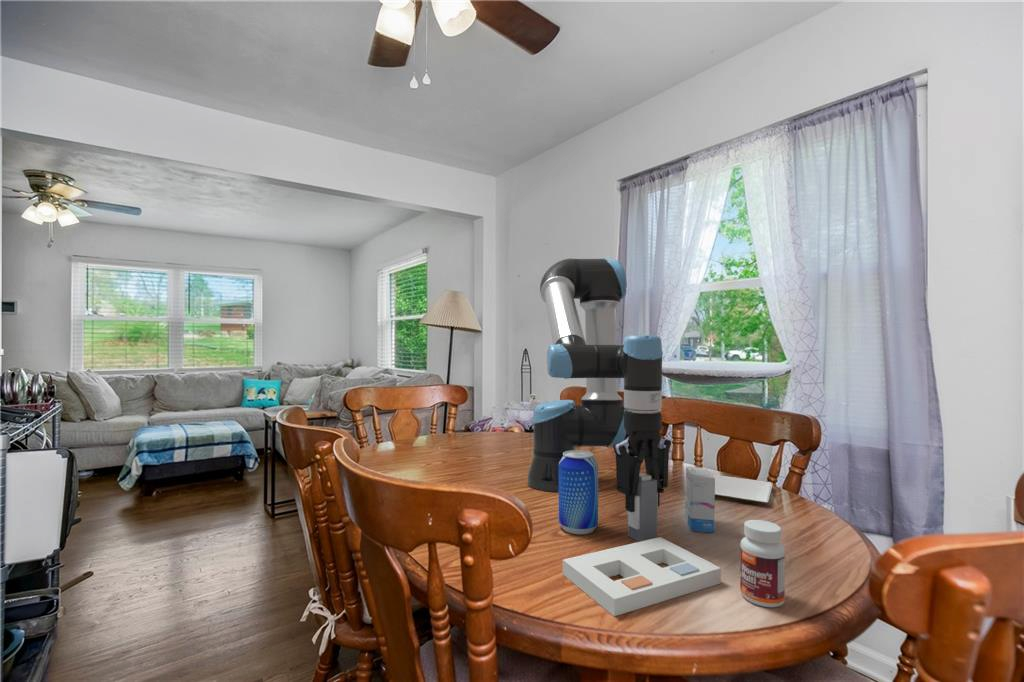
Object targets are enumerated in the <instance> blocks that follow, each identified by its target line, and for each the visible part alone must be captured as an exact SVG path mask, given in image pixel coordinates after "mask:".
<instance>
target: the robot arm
mask: <svg viewBox="0 0 1024 682" xmlns="http://www.w3.org/2000/svg"><path fill="white" fill-rule="evenodd" d="M626 276H627V275H626V271H625V268H624V266H623V264H622V262H620V261H619V260H617V259H608V258H605V257H603V258H565V259H562V260H560V261H557V262H556V263H554V264H553V265H551V266H550V267H549V268H548V269H547V270H546V271H545V273H544V274H543V276H542V278H541V281H540V285H539V291H540V297H541V299H542V301H543V302H544V303H545V304H546V309H547V310H546V311H547V317H548V321H549V322H548V323H549V329H550V332H551V333H550V334H551V339H552V343H553V344H551V345H549V346H548V347H547V351H546V366H547V367H546V368H547V370H546V371H547V374H548V375H549V377H551V378H557V379H558V378H559V379H565V380H566V379H567V380H568V379H585V382H586V384H585V385H586V387H585V388H586V390H585V391H586V392H585V394H584V395H583V396H582V397H581V400H580V401H581V403H580V404H578V405H577V404H576V402H575V401H574V400H573V399H557V400H551V401H545V402H541V403H539V404H537V405H536V406H535V407H534V409H533V419H532V424H533V457H532V460H531V463H530V466H529V469H528V473H527V475H526V476H527V477H526V478H527V479H526V481H527V482H526V483H527V486H529V487H530V488H533V489H536V490H539V491H543V492H544V491H545V492H559V462H560V460H561V459H562V457H563V453H564V452H566V451H571V450H575V448H577V447H582V448H583V447H587V448H588V447H593V448H595V447H605V448H610V447H612V448H613V451H614V453H615V469H616V470H615V471H616V472H615V475H616V477H615V478H616V491H618V492H619V493H621V494H624V495H625V497H624V498H625V499H624V500H625V507H624V508H625V510H626V511H627V525H628V527H629V526H631V527H633V528H635V529H640V496H638V495H636V493H637V487H638V480H639V474H640V473H641V466H642V463H643V462H644V466H645V474H648V475H651V478H652V479H655V480H657V526H658V523H659V522H658V521H659V519H658V517H659V516H658V515H659V514H658V509H659V507H660V503H661V501H660V496H661V495H660V494H663V493H664V492H665V489H667V488H668V486H669V462H670V461H669V460H670V458H669V457H670V454H669V453H670V450H671V449H670V448H671V446H672V441H671V440H670V439H668V438H667V439H666V438H664V437H663V438H662V436H661V433H660V432H661V430H662V429H663V414H662V413H661V411H660V410H662V409H663V406H662V405H663V394H662V393H663V389H662V388H663V357H664V355H663V354H664V353H663V346H662V339H661V337H660V336H658V335H654V334H653V335H651V334H650V335H647V334H646V335H642V334H641V335H639V334H638V335H637V334H636V335H634V334H633V335H626V337H624V341H623V344H617V342H616V341H617V339H616V336H617V335H616V309H617V308H618V307H620V304H621V300H623V299H624V298H625V297H626V295H627V288H628V287H627V286H628V285H627V277H626ZM575 299H578V300H579V306H580V307H581V308H582V309H583V310H584V315H585V317H584V318H585V319H584V321H585V322H584V324H585V325H584V326H585V328H584V329H585V336H584V332H583V329H582V324H581V321H580V317H579V314H578V310H577V306H576V302H575ZM617 379H623V387H624V388H623V398H622V396H621V395H619V394H618V391H617V390H618V387H617V386H618V385H617V383H618V382H617ZM630 488H631V489H630Z"/></svg>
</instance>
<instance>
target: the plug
mask: <svg viewBox="0 0 1024 682" xmlns="http://www.w3.org/2000/svg"><path fill="white" fill-rule="evenodd" d="M630 489H631V488H630ZM636 495H638V496H640V529H635V528H633V527H631V526H629V525H628V537H629V538H631V539H633V540H635V541H636V542H641V541H645V540H650V539H654V538H658V525H657V480H655V479H652V478H651V475H648V474H647V473H646V472H640V474H639V480H638V487H637V493H636Z"/></svg>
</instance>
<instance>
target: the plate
mask: <svg viewBox="0 0 1024 682" xmlns="http://www.w3.org/2000/svg"><path fill="white" fill-rule="evenodd" d="M711 474H712V473H711ZM712 475H713V476H714V478H715V498H716V499H723V500H727V501H728V500H729V501H736V502H741V503H747V504H753V505H760V504H762V505H763V504H765V505H767V504H768V503H769V499H770V496H771V492H772V490H773V484H774V483H773V482H771V481H763V480H757V479H750V478H741V477H736V476H735V477H734V476H726V475H719V474H712Z"/></svg>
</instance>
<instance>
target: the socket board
mask: <svg viewBox="0 0 1024 682" xmlns="http://www.w3.org/2000/svg"><path fill="white" fill-rule="evenodd" d="M659 564H665V565H666V566H665V567H662V566H660V565H659ZM562 575H563V576H564V577H565V578H566V579H568V580H569V581H570V582H571V583H572V584H574V585H575V586H576V587H577V588H579V589H580V590H581V591H582V592H584V593H585V594H586V595H587V596H588V597H590V598H591V599H592V600H594V601H595V602H596V603H597V604H598V605H600V607H602V608H603V609H604V610H606V611H607V612H608V613H610V614H611V615H612V616H613V617H617V616H621V615H624V614H627V613H629V612H633V611H636V610H639V609H643V608H646V607H650V606H652V605H653V606H654V605H656V604H659V603H662V602H666V601H668V600H669V601H670V600H672V599H676V598H678V597H682V596H685V595H687V594H690V593H694V592H697V591H701V590H703V589H707V588H710V587H714V586H717V585H719V584H722V568H721V567H720V566H718V565H715V564H714V563H712V562H710V561H708V560H706V559H704V558H702V557H700V556H698V555H696V554H694V553H692V552H691V551H688V550H687V549H684V548H682V547H680V546H678V545H677V544H674V543H673V542H671V541H668V540H667V539H665V538H663V537H661V536H659V537H658V536H657V538H654V539H650V540H645V541H641V542H639V541H636V542H633V543H629V544H623V545H620V546H615V547H611V548H607V549H603V550H599V551H593V552H590V553H586V554H581V555H577V556H573V557H569V558H564V559H562ZM618 575H620V576H621V577H622V578H620V579H617V580H613V579H611V577H615V576H618Z"/></svg>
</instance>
